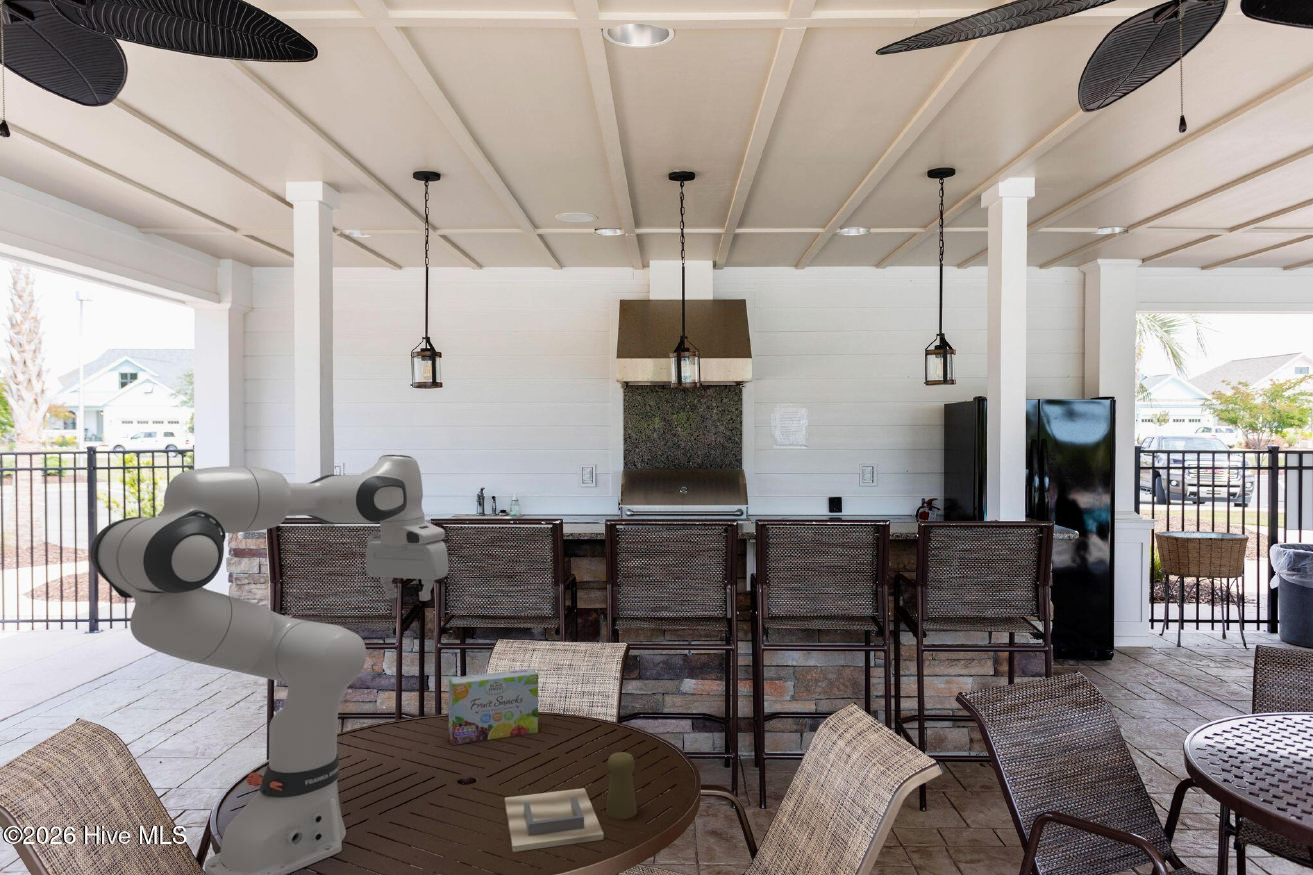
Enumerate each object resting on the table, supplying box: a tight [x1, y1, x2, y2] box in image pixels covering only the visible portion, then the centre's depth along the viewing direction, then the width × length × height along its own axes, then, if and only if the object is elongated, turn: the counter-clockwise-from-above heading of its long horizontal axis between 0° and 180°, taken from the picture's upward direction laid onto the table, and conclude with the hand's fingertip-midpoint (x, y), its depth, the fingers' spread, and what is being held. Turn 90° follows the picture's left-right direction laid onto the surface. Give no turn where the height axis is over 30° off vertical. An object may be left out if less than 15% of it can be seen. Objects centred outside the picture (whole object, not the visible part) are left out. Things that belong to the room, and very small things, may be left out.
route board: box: [504, 787, 604, 853], centre depth 145 cm, size 20×16×1 cm
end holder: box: [524, 797, 584, 836], centre depth 142 cm, size 9×10×2 cm
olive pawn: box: [605, 751, 638, 820], centre depth 148 cm, size 6×6×11 cm
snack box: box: [448, 668, 539, 746], centre depth 190 cm, size 21×6×15 cm, turn 115°
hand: (408, 598), depth 159 cm, fingers open, 8 cm apart
